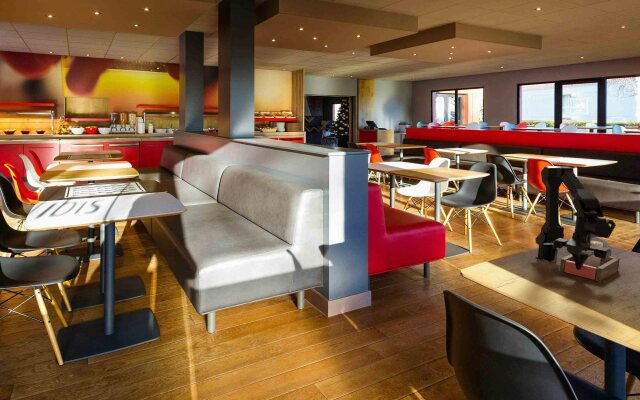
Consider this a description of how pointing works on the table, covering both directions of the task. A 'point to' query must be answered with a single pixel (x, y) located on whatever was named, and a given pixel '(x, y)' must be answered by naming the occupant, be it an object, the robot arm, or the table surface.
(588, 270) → the tray
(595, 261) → the canister
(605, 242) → the donut
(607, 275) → the slot
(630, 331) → the table surface
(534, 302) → the table surface
